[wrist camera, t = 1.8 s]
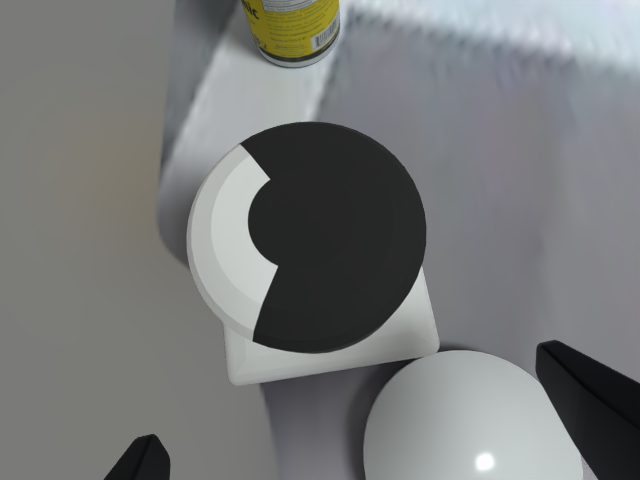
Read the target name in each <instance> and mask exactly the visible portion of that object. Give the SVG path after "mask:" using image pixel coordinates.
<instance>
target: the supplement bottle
mask: <svg viewBox="0 0 640 480" xmlns="http://www.w3.org/2000/svg"><path fill="white" fill-rule="evenodd" d="M241 1H242V4H243V7H244V10H245V13H246V16H247V19H248V22H249V25H250V28H251V32H252V35H253V38H254V41H255V43H256V45H257V47H258V49H259V51H260V52H261V53H262V54H263V56H264V57H266V58H267V59H268V60H269V61H271V62H273V63H275V64H277V65H280V66H285V67H303V66H307V65H311V64H313V63H316V62H318V61H319V60H321V59H322V58H324V57H325V56H326V55H327V54H328V53H329V52H330V51H331V50H332V49H333V47H334V46H335V44H336V42H337V40H338V37H339V33H340V11H339V0H241Z"/></svg>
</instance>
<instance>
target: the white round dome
mask: <svg viewBox="0 0 640 480" xmlns="http://www.w3.org/2000/svg"><path fill="white" fill-rule="evenodd" d="M363 461H364V469H365V476H366V480H583V469H582V463H581V456H580V452H579V451H578V449H577V447H576V446H575V444H574V443H573V441H572V439H571V438H570V436H569V434H568V433H567V431H566V429H565V427H564V425H563V423H562V422H561V420H560V418H559V416H558V414H557V412H556V411H555V409H554V407H553V405H552V403H551V401H550V399H549V398H548V396H547V394H546V392H545V390H544V388H543V387H542V385H541V384H540V383H539V382H538V381H537V380H535V379H534V378H533V377H532V376H531V375H529V374H528V373H526V372H525V371H524V370H522V369H521V368H519V367H518V366H516V365H514V364H512V363H510V362H508V361H506V360H504V359H501V358H499V357H496V356H494V355H490V354H486V353H482V352H476V351H468V350H453V351H444V352H437V353H435V354H433V355H431V356H425V357H421V358H418V359H416V360H414V361H412V362H410V363H409V364H407V365H405V366H404V367H402V368H401V369H400V370H399V371H397V372H396V373H395V374H394V375H393V376H392V377H391V378H390V379H389V380H388V381H387V382H386V383H385V385H384V386H383V387H382V389H381V390H380V392H379V393H378V395H377V397H376V399H375V401H374V402H373V404H372V407H371V409H370V412H369V415H368V418H367V422H366V426H365V431H364V440H363Z"/></svg>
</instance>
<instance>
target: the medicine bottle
mask: <svg viewBox="0 0 640 480" xmlns="http://www.w3.org/2000/svg"><path fill="white" fill-rule="evenodd" d="M186 238H187V255H188V261H189V267H190V270H191V273H192V276H193V279H194V282H195V284H196V286H197V288H198V290H199V292H200V294H201V296H202V298H203V299H204V301H205V302H206V304H207V305H208V306H209V308H210V309H211V311H213V312H214V314H215V315H216V316H217V317H218V318H219V319H220V320H221V321H222V322H223V330H224V331H223V332H224V344H225V355H226V366H227V377H228V380H229V382H230V383H231V384H232V385H234V386H244V385H251V384H257V383H263V382H269V381H276V380H282V379H288V378H294V377H301V376H307V375H313V374H319V373H325V372H332V371H338V370H344V369H350V368H356V367H363V366H369V365H375V364H381V363H388V362H394V361H400V360H406V359H412V358H419V357H425V356H431V355H433V354H435V353H436V352H437V351H438V349H439V338H438V334H437V329H436V325H435V321H434V316H433V312H432V308H431V303H430V299H429V295H428V290H427V286H426V282H425V277H424V273H423V269H422V262H423V258H424V253H425V247H426V220H425V213H424V208H423V205H422V201H421V198H420V195H419V192H418V190H417V188H416V186H415V184H414V181H413V180H412V178H411V177H410V175H409V173H408V172H407V170H406V169H405V167H404V166H403V165H402V164H401V163H400V162H399V160H398V159H397V158H396V157H395V156H394V155H393V154H392V153H391V152H390V151H388V150H387V149H386V148H385V147H384V146H383V145H381V144H380V143H378V142H377V141H375V140H374V139H372V138H371V137H369V136H367V135H365V134H362V133H360V132H358V131H356V130H353V129H350V128H347V127H344V126H341V125H336V124H331V123H324V122H296V123H290V124H284V125H280V126H276V127H273V128H270V129H267V130H264V131H262V132H260V133H257V134H255V135H253V136H251V137H249V138H248V139H246V140H244V141H243V142H241V143H239V144H238V145H237V146H235V147H234V148H233V149H232V150H230V151H229V152H228V153H226V154H225V155H224V156H223V157H222V158H221V159H220V161H219V162H218V163H217V164H216V165H215V166H214V167H213V168H212V170H211V171H210V172H209V174H208V175H207V176H206V178H205V179H204V181H203V183H202V185H201V186H200V188H199V190H198V192H197V195H196V197H195V199H194V202H193V204H192V208H191V211H190V215H189V219H188V227H187V235H186Z"/></svg>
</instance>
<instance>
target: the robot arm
mask: <svg viewBox="0 0 640 480" xmlns="http://www.w3.org/2000/svg"><path fill="white" fill-rule="evenodd" d="M535 369H536V374H537V377H538V379H539V381H540V383H541V385H542V387H543V388H544V390H545V392H546V394H547V396H548V398H549V399H550V401H551V403H552V405H553V407H554V409H555V411H556V412H557V414H558V416H559V418H560V420H561V422H562V423H563V425H564V427H565V429H566V431H567V433H568V434H569V436H570V438H571V439H572V441H573V443H574V444H575V446H576V447H577V449H578V451H579V452H580V454H581V455H582V457H583V458H584V459H585V461H586V462H587V464H588V465H589V467H590V468H591V470H592V471H593V473H594V474H595V476H596V477H597V479H598V480H640V383H638V382H636V381H635V380H633V379H631V378H629V377H627V376H625V375H623V374H621V373H619V372H617V371H615V370H613V369H612V368H610V367H608V366H606V365H604V364H602V363H600V362H598V361H596V360H594V359H592V358H591V357H589V356H587V355H585V354H583V353H581V352H579V351H577V350H575V349H573V348H571V347H569V346H568V345H566V344H564V343H562V342H560V341H557V340H551V341H547V342H543V343H540V344H538V346H537V349H536V366H535ZM169 477H170V458H169V455H168V453H167V451H166V450H165V448H164V446H163V445H162V443H161V442H160V440H159V438H158V437H157V436H156V435H154V434H150V435H146V436H142V437H138V438H137V439H135V440H134V441H133V442H132V444H131V445H130V446H129V448H128V449H127V451H126V452H125V453H124V454H123V455H122V457H121V458H120V459H119V460H118V462H117V463H116V465H115V466H114V467H113V468H112V470H111V471H110V472H109V473H108V475H107V476H106V477H105V479H104V480H169V479H170V478H169Z"/></svg>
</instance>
